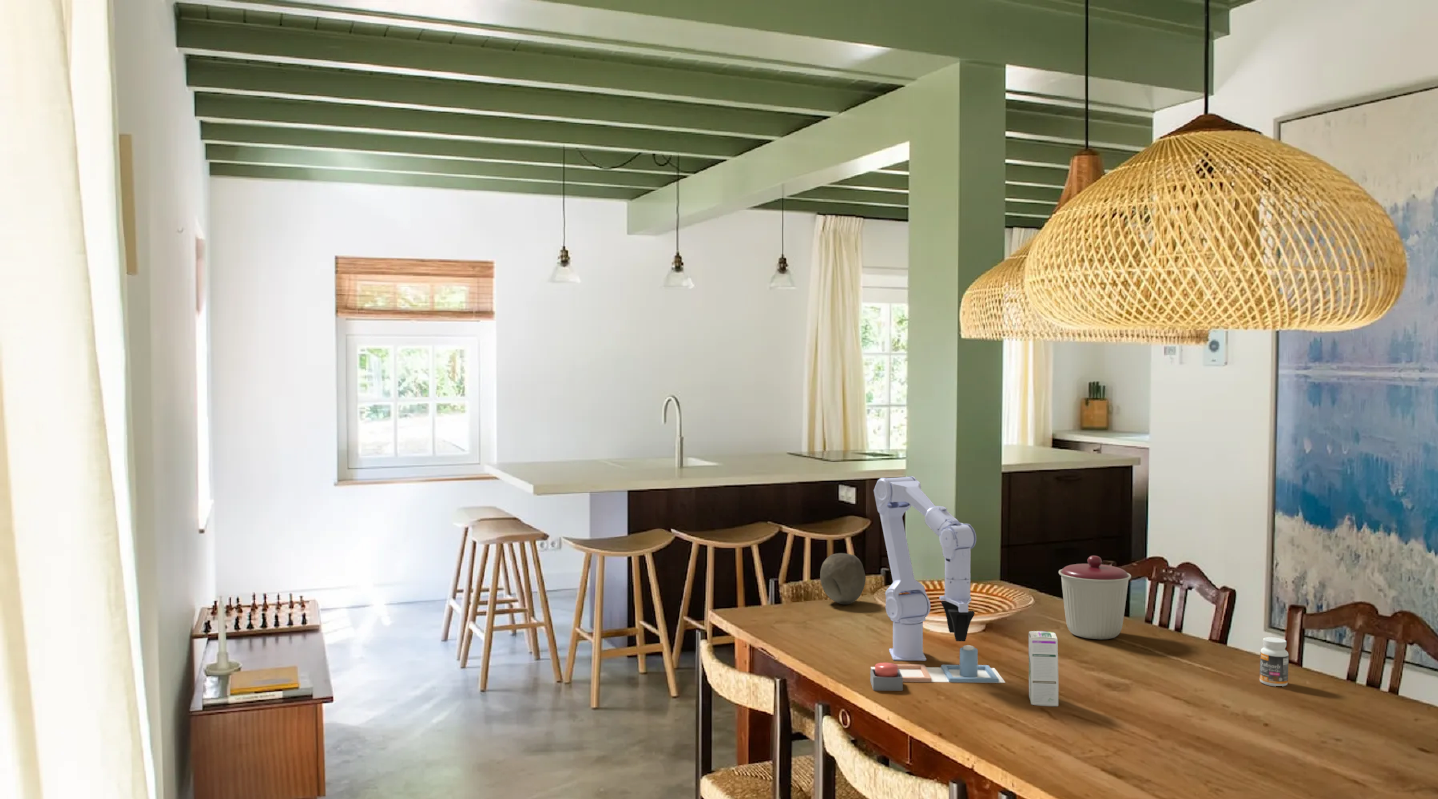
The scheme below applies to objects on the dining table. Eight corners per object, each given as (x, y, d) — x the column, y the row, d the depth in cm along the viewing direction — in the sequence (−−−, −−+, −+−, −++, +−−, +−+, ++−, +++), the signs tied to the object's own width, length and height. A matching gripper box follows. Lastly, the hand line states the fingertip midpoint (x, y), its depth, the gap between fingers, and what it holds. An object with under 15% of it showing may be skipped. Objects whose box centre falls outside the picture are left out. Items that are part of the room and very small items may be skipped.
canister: (1122, 647, 270) (1123, 564, 269) (1050, 637, 280) (1050, 557, 279) (1136, 632, 285) (1137, 553, 285) (1067, 623, 295) (1068, 547, 294)
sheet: (870, 667, 253) (870, 666, 253) (994, 668, 251) (994, 668, 251) (875, 681, 241) (875, 681, 241) (1005, 683, 240) (1005, 682, 240)
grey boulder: (876, 604, 318) (876, 554, 318) (837, 610, 311) (837, 559, 311) (847, 596, 330) (847, 547, 330) (809, 601, 323) (809, 552, 323)
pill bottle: (1256, 683, 239) (1256, 639, 239) (1264, 678, 243) (1264, 635, 243) (1283, 689, 235) (1284, 644, 235) (1291, 683, 239) (1292, 639, 239)
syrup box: (1059, 706, 223) (1059, 638, 223) (1029, 705, 224) (1030, 636, 224) (1056, 698, 229) (1056, 631, 228) (1027, 696, 230) (1027, 630, 230)
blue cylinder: (956, 673, 247) (956, 644, 247) (972, 672, 248) (972, 644, 248) (964, 678, 243) (964, 649, 243) (980, 677, 244) (980, 648, 244)
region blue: (941, 668, 251) (941, 664, 251) (988, 668, 251) (988, 665, 251) (949, 681, 240) (949, 678, 240) (998, 682, 240) (998, 678, 240)
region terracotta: (877, 667, 252) (877, 664, 252) (924, 667, 252) (924, 664, 252) (882, 681, 241) (882, 677, 241) (931, 681, 241) (931, 678, 241)
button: (873, 671, 240) (873, 662, 240) (896, 671, 240) (896, 662, 240) (876, 677, 235) (876, 668, 235) (899, 678, 235) (899, 669, 235)
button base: (870, 682, 241) (870, 669, 241) (899, 682, 241) (899, 669, 240) (873, 690, 234) (873, 677, 234) (902, 691, 234) (902, 677, 234)
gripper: (934, 571, 251) (934, 628, 251) (945, 584, 237) (945, 644, 237) (964, 571, 251) (964, 628, 251) (977, 584, 236) (977, 645, 237)
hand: (957, 636), depth 244 cm, fingers open, 7 cm apart
